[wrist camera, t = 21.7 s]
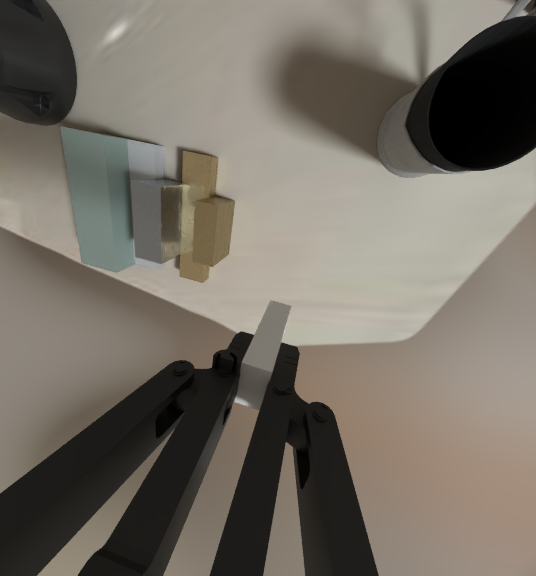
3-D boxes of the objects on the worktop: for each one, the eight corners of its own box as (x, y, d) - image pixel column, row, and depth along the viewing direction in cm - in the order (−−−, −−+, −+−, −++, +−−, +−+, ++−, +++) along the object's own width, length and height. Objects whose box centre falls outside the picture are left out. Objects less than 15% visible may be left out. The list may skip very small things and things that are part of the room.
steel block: (164, 244, 41) (135, 257, 35) (164, 178, 37) (130, 179, 31) (187, 250, 41) (161, 264, 35) (189, 184, 36) (160, 186, 30)
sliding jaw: (185, 272, 42) (165, 286, 37) (190, 151, 34) (164, 147, 29) (225, 282, 41) (209, 299, 36) (239, 161, 33) (222, 159, 28)
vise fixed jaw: (111, 252, 44) (81, 262, 39) (99, 133, 36) (59, 126, 31) (164, 266, 43) (140, 279, 38) (163, 146, 35) (133, 141, 30)
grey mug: (361, 158, 30) (386, 146, 17) (447, 2, 24) (594, -213, 11) (427, 190, 30) (503, 204, 17) (531, 43, 24) (788, -123, 10)
